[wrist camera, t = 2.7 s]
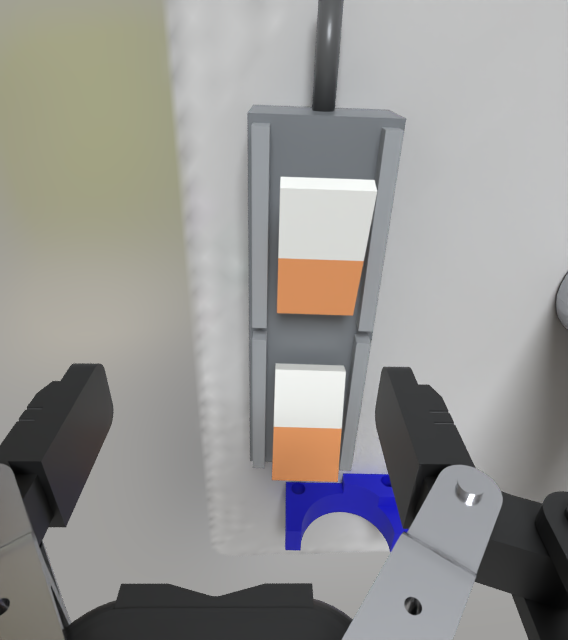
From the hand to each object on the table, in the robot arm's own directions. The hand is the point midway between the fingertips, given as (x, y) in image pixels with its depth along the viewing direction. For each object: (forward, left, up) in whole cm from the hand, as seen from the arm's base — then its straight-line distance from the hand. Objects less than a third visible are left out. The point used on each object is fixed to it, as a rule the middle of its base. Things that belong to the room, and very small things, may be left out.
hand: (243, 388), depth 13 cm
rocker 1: (-3, -1, -16) cm, 16 cm away
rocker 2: (-12, +10, -16) cm, 22 cm away
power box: (-6, +2, -23) cm, 23 cm away
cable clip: (-27, +19, -23) cm, 40 cm away
